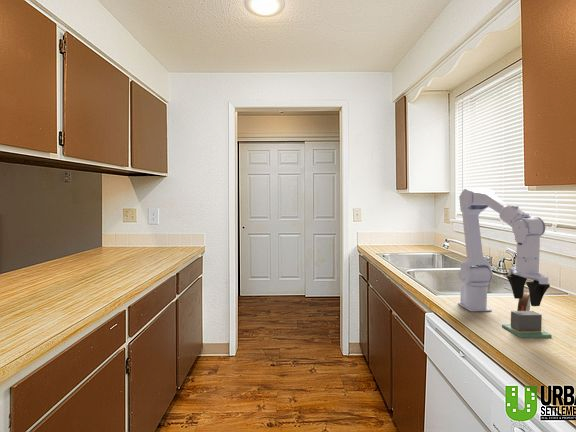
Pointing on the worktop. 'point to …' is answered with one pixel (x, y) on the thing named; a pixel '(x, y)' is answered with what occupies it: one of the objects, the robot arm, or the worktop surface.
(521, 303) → the tin
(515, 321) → the block
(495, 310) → the worktop surface
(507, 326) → the board
